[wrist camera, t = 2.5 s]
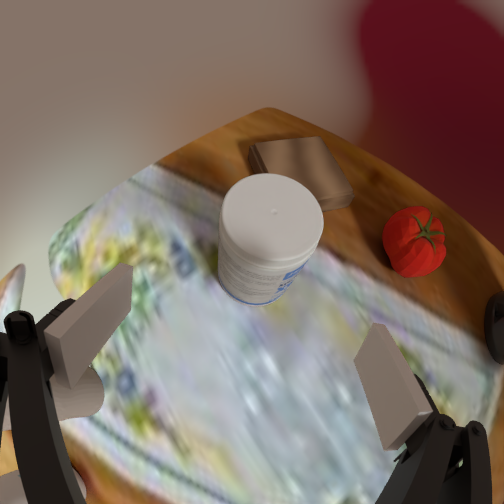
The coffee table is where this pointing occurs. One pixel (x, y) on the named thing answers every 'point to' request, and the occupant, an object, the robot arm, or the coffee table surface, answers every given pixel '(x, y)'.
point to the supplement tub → (265, 237)
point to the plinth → (305, 168)
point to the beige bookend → (72, 398)
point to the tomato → (414, 241)
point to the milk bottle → (11, 489)
